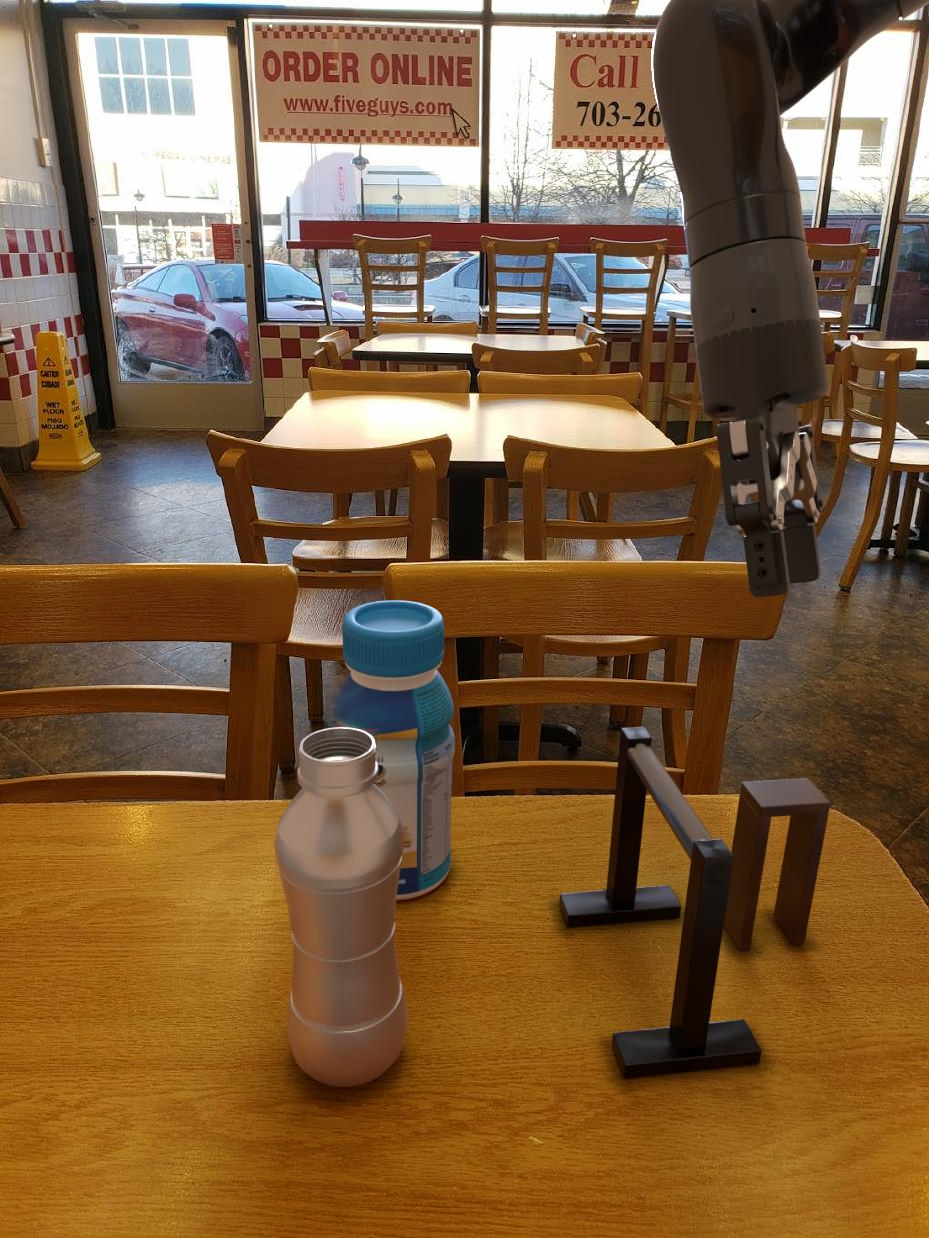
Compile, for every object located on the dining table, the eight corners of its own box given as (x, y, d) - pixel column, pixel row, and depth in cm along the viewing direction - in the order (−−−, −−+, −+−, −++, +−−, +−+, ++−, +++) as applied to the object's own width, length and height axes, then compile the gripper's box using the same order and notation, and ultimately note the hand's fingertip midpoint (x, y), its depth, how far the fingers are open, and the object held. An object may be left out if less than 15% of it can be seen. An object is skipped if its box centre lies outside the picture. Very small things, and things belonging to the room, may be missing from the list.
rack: (668, 896, 67) (689, 720, 62) (760, 1064, 53) (796, 856, 48) (558, 905, 66) (571, 727, 61) (623, 1079, 52) (646, 867, 47)
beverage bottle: (472, 887, 67) (479, 628, 60) (360, 918, 64) (353, 648, 57) (425, 825, 74) (426, 588, 67) (322, 851, 71) (312, 603, 64)
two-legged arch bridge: (783, 915, 65) (807, 777, 61) (804, 944, 62) (831, 802, 58) (720, 920, 65) (741, 781, 61) (739, 950, 62) (761, 807, 58)
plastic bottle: (424, 1083, 51) (425, 763, 44) (302, 1121, 49) (282, 789, 42) (389, 1001, 57) (385, 705, 50) (277, 1031, 55) (256, 725, 47)
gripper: (790, 297, 51) (826, 595, 52) (841, 330, 63) (870, 571, 64) (658, 333, 55) (694, 607, 56) (730, 357, 67) (759, 583, 68)
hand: (788, 588), depth 60 cm, fingers open, 8 cm apart
